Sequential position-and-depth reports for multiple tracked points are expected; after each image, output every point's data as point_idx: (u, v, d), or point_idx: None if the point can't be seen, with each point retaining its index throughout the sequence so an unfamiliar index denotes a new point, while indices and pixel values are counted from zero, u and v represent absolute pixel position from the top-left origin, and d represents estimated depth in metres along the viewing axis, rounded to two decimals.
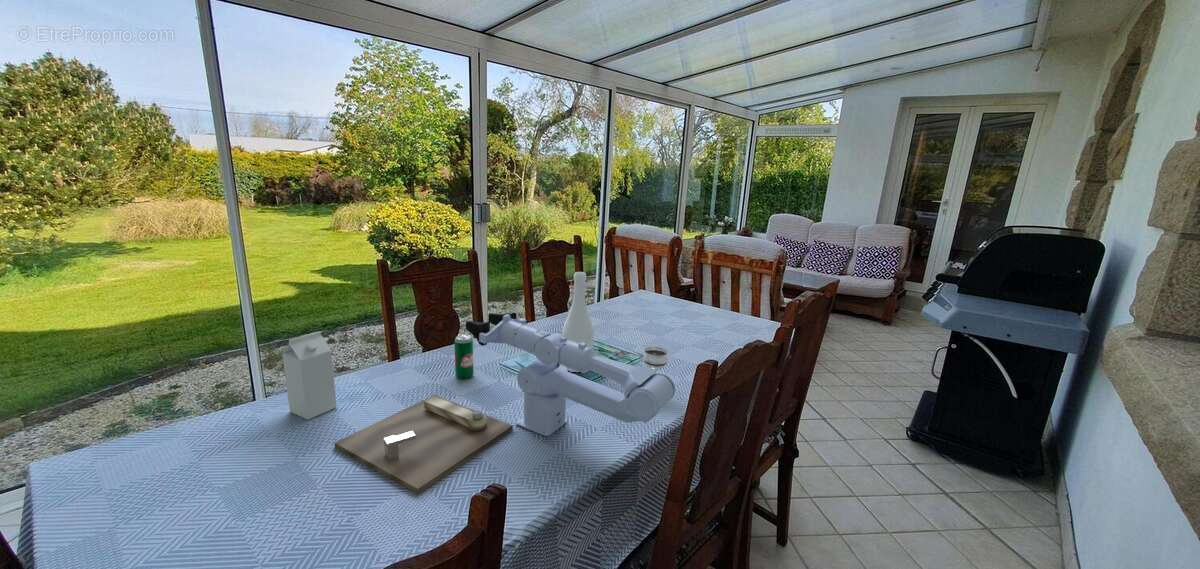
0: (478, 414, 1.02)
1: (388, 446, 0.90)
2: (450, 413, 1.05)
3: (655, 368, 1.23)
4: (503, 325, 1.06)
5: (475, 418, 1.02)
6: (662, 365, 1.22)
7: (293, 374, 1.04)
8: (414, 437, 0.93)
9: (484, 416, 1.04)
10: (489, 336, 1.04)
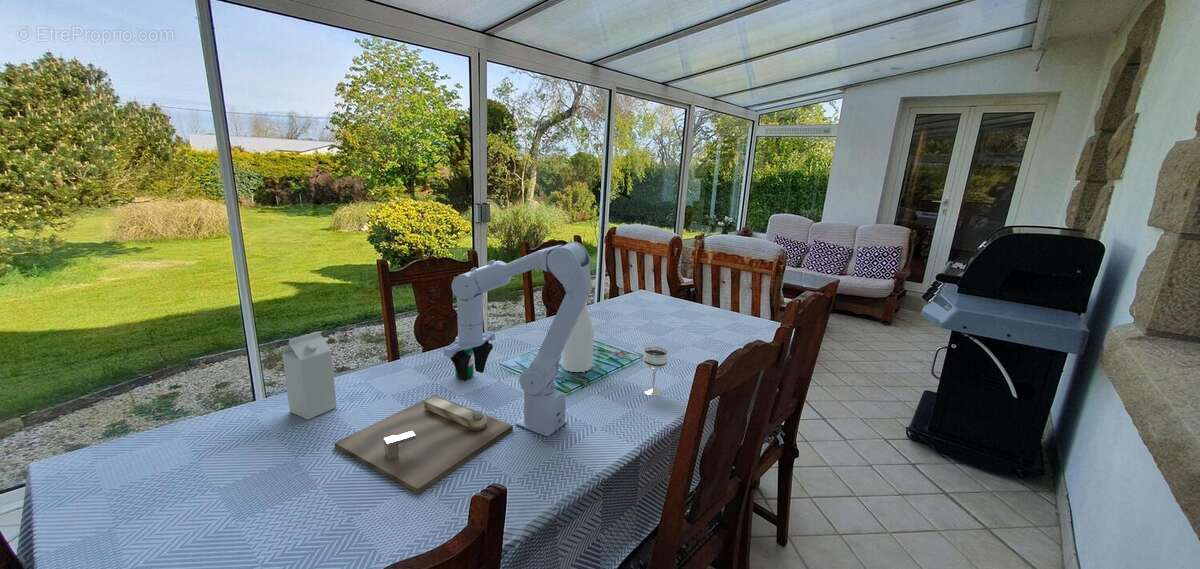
0: (478, 414, 1.02)
1: (388, 446, 0.90)
2: (450, 413, 1.05)
3: (655, 368, 1.23)
4: (458, 338, 1.08)
5: (475, 418, 1.02)
6: (662, 365, 1.22)
7: (293, 374, 1.04)
8: (414, 437, 0.93)
9: (484, 416, 1.04)
10: None
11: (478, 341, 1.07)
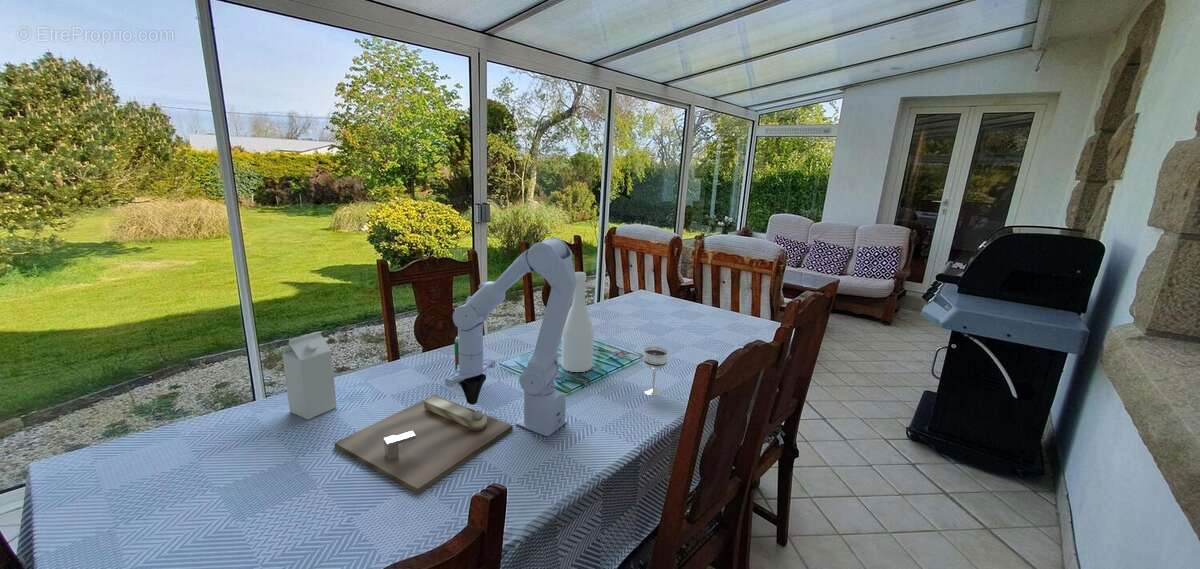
0: (478, 414, 1.02)
1: (388, 446, 0.90)
2: (450, 413, 1.05)
3: (655, 368, 1.23)
4: None
5: (475, 418, 1.02)
6: (662, 365, 1.22)
7: (293, 374, 1.04)
8: (414, 437, 0.93)
9: (484, 416, 1.04)
10: None
11: (478, 370, 1.08)
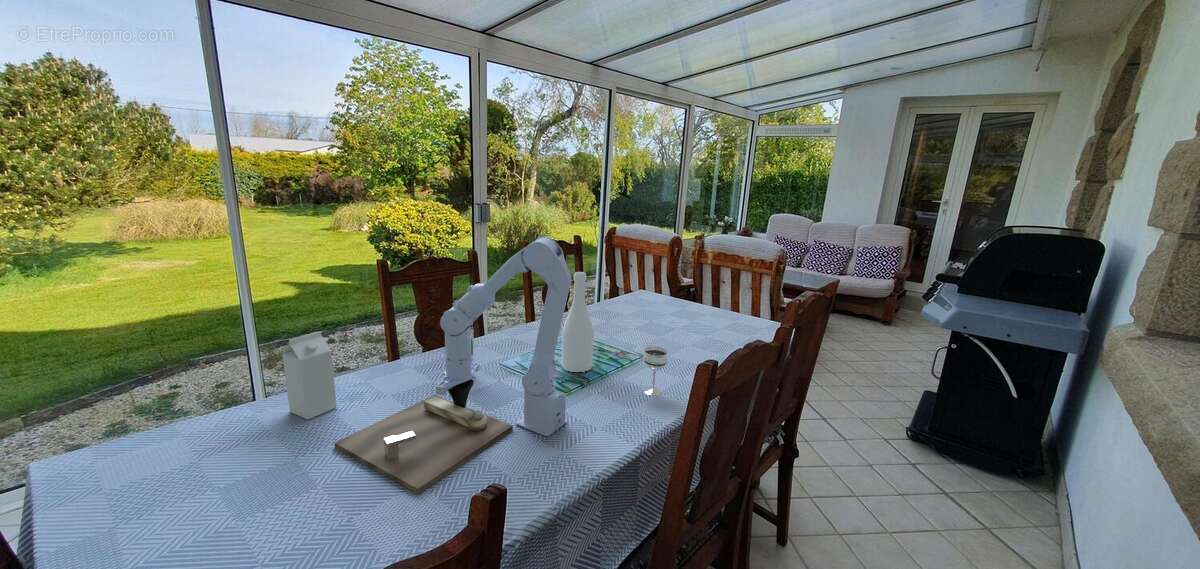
0: (478, 414, 1.02)
1: (388, 446, 0.90)
2: (450, 413, 1.05)
3: (655, 368, 1.23)
4: (446, 373, 1.06)
5: (475, 418, 1.02)
6: (662, 365, 1.22)
7: (293, 374, 1.04)
8: (414, 437, 0.93)
9: (484, 416, 1.04)
10: None
11: (468, 375, 1.06)
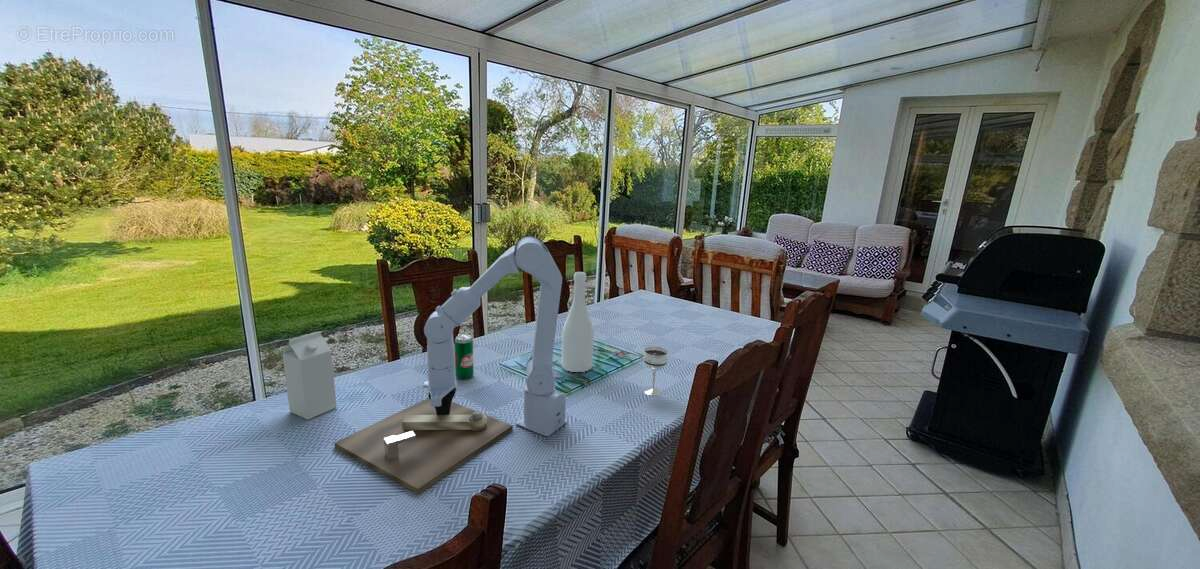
0: (479, 413, 1.02)
1: (388, 446, 0.90)
2: (444, 423, 1.01)
3: (655, 368, 1.23)
4: (430, 384, 1.00)
5: (478, 418, 1.02)
6: (662, 365, 1.22)
7: (293, 374, 1.04)
8: (414, 437, 0.93)
9: None
10: (435, 395, 0.97)
11: (454, 381, 1.02)
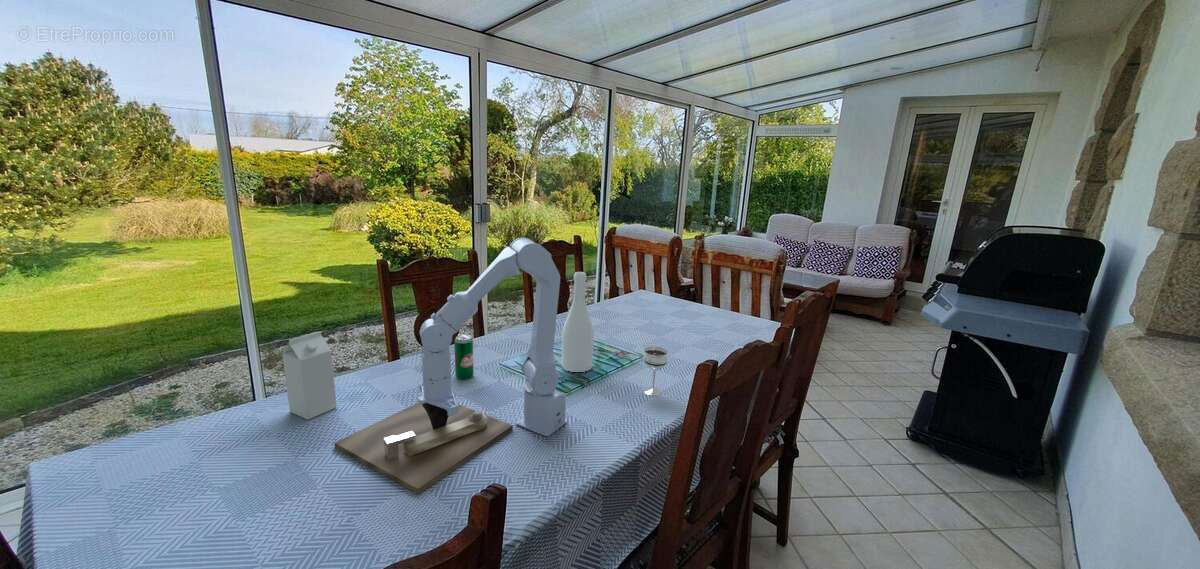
0: (480, 412, 1.03)
1: (388, 446, 0.90)
2: (451, 433, 0.97)
3: (655, 368, 1.23)
4: (432, 397, 0.94)
5: (481, 417, 1.02)
6: (662, 365, 1.23)
7: (293, 374, 1.04)
8: (414, 437, 0.93)
9: None
10: (448, 405, 0.93)
11: None
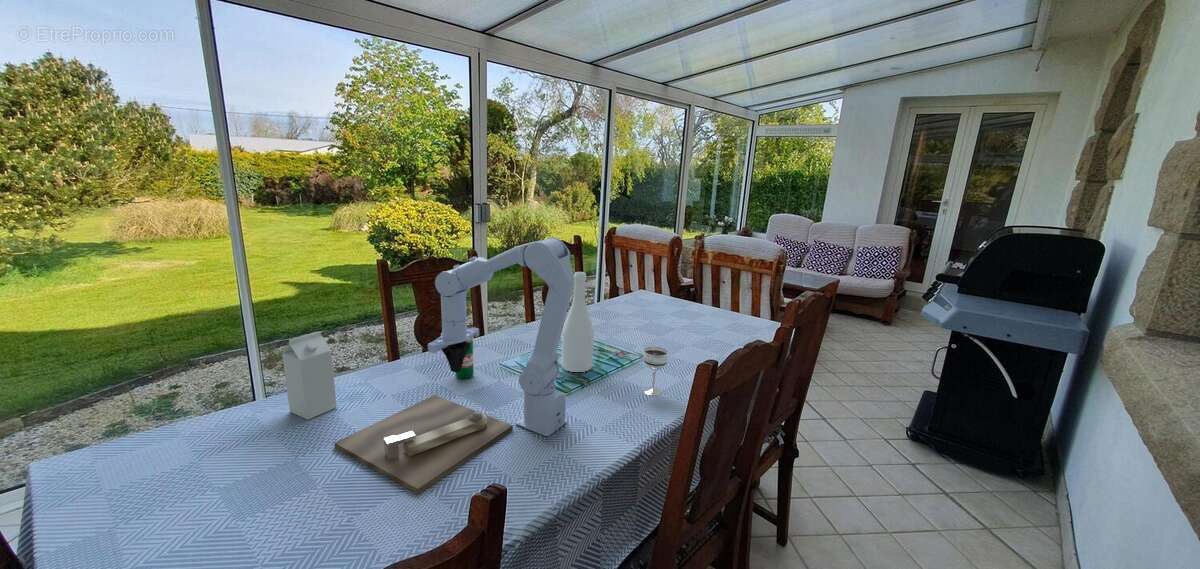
0: (480, 412, 1.03)
1: (388, 446, 0.90)
2: (451, 433, 0.97)
3: (655, 368, 1.23)
4: (442, 334, 1.10)
5: (481, 417, 1.02)
6: (662, 365, 1.23)
7: (293, 374, 1.04)
8: (414, 437, 0.93)
9: None
10: None
11: (462, 337, 1.09)
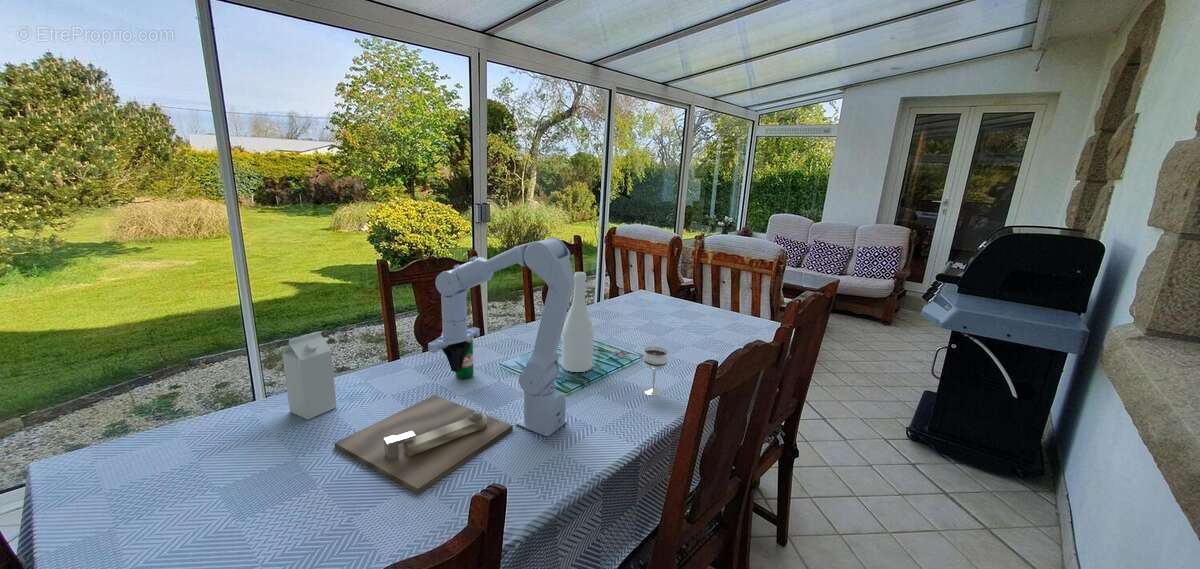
0: (480, 412, 1.03)
1: (388, 446, 0.90)
2: (451, 433, 0.97)
3: (655, 368, 1.23)
4: None
5: (481, 417, 1.02)
6: (662, 365, 1.22)
7: (293, 374, 1.04)
8: (414, 437, 0.93)
9: None
10: None
11: (462, 337, 1.09)
